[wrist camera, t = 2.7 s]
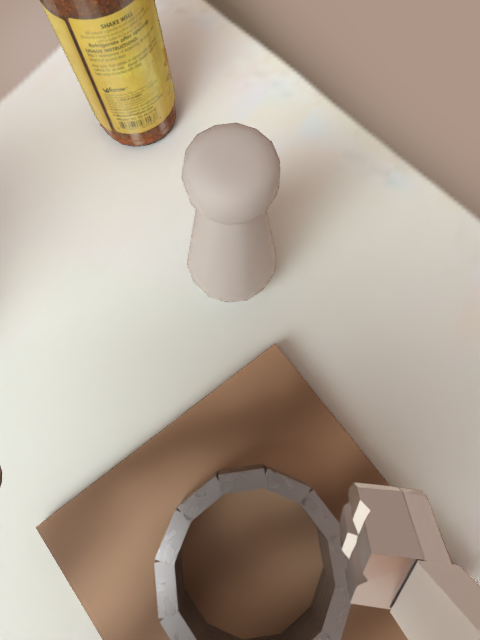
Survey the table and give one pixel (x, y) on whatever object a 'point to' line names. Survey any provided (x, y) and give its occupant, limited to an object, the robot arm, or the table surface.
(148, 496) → the keeper plate
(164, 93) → the sauce bottle
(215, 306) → the table surface
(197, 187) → the salt shaker
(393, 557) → the robot arm
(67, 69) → the table surface
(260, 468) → the keeper collar
